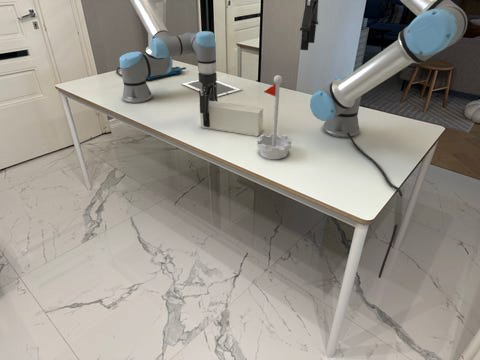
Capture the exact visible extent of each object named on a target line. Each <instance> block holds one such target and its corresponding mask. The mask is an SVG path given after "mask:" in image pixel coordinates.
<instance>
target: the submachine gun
mask: <svg viewBox="0 0 480 360" xmlns="http://www.w3.org/2000/svg"><path fill="white" fill-rule="evenodd" d="M183 70H187V67H186V66H183V67H180V66H172V69H171V71H170V72H169V73H167V74H164V75H157V76H151V77H146V81H148V80H150V81H152V80H153V79H157V78H160V77H166V76H170V75H176V74H180V73H181V72H183Z"/></svg>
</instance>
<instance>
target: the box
mask: <svg viewBox="0 0 480 360" xmlns="http://www.w3.org/2000/svg"><path fill="white" fill-rule="evenodd" d="M208 113H209V121H210V127H205V126H204V125H203V113H200V112H199V117H200V128H203V129H210V130H216V131H222V132H229V133H235V134H240V135H241V134H242V135H246V136H247V135H248V136H255V137H259V136H260V134H261V133H262V131H263V122H264V121H263V118H264V107H262V106H254V105H247V104H238V103H232V102H224V101H218V102H217V101H216V100H215V101H209V106H208Z"/></svg>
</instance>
